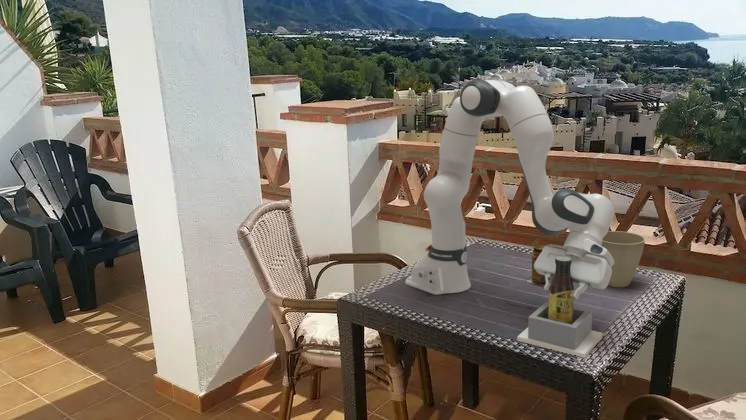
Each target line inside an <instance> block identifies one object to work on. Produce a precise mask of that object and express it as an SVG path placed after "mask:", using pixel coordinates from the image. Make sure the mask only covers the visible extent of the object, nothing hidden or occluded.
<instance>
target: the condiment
mask: <svg viewBox="0 0 746 420" xmlns="http://www.w3.org/2000/svg"><path fill="white" fill-rule="evenodd" d="M544 246H545V245H536V246H534V247H533V252H532V253H533V254H532V256H531V279H527V280H526V281H525V282H527V283H530V284H533V285H536V286H540V287H543V288H544V287H545V284H546V280H545V275H542V274H539V273H538V272H537V271H536V270H535V268H534V263H535V261H536V260H537V258H538V256H539V255H540V253H541V252H542V250H543V248H544ZM550 281H551V280H550Z"/></svg>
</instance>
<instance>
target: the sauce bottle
mask: <svg viewBox="0 0 746 420" xmlns="http://www.w3.org/2000/svg"><path fill="white" fill-rule="evenodd" d="M555 263H556V271H555V276H554V277H553V278H552V280H551V282H550V291H549V294H548V302H549V310H548V319H550V320H554V321H558V322H563V323H567V324H571V325H572V322H573V307H574V303H575V302H574V301H575V299H573V298H571V297H570V294H571V292H572V290H575V287H574V283H573V281H572V278H571V275H570V274H571V273H570V267H571V264H572V260H571V258H569V257H564V256H559V257H556V258H555Z"/></svg>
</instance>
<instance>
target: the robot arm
mask: <svg viewBox="0 0 746 420" xmlns="http://www.w3.org/2000/svg"><path fill="white" fill-rule="evenodd" d="M486 118H487V119H488V118H489V119H492V118H504V119H505V121H506V123H507V125H508V127H509V130H510V132H511V133H510V134H511V135H512V138H513V142H514V144H515V147H516V151H517V154H518V158H519V159H518V160H519V163H520V164H519V165H520V168H521V171H522V175H523V179H524V181H525V185H526V188H527V191H528V195H529V197H530V202H531V219H532V224H533V225H534V227H535V228H536V230H538V231H539V232H540V233H542V234H544V235H548V236H556V235H558V234H560V233H562V231H564V230H566V229H568V231H569V232H568V235H567V237H566V240H565V242H564V244H563V245H561V244H555V243H550V244H547V245H543V246H544V248H543V250H542V252H541V253H540V255H539V256H538V258H537V260H536V261H535V263H534V268H535V270H536V271H537V272H538V273H539V274H542V275H545V280H546V284H545V287H544V286H543V289H544V291H546V292H549V291H550V282H551V281H550V280H552V278H553V277H554V276H555V271H556V263H555V258H556V257H559V256H564V257H569V258H571V260H572V264H571V267H570V273H571V274H570V275H571V278H572V281H573V284H577V285H579V286H578V288H576V289H574V290H572V292H571V294H570V297H571V298H573V299H574V300H578V299H579V297H580V295H581V294H582V293H584V292H585V291H587V290H588V288H589V287H590V288H593V289H598V290H601V291H602V290H604V289H607V287H608V286H609V285H608V284H609V281H610V278H611V274H612V269H611V267H612V266H613V264H614V260H613V258H612V256H611V254H610V253H609V252H608V250H607V249H606V248H604V247H602V246H601V245H602V240H603V238H604V236H605V235H606V234H607V232H608V231H609V230H610V227H611V225H612V222H613V219H614V216H615V206H614V204H613V202H612V201H611V200H610V199H609V198H608V197H606V196H604V195H603V194H599V193H590V194H589V193H583V192H582V193H581V192H577V191H576V190H573V189H571V188H563V189H559V190H558V191H555V192H554V193H553V192H552V187H551V185H550V181H549V179H548V178H549V177H548V175H547V171H546V162H547V158H548V155H549V152H550V150H551V148H552V145H553V143H554V139H555V133H554V128H553V124H552V121H551V119H550V117H549V115H548V113H547V110H546V108H545V105H544V104H543V102H542V100H541V98H540V97H539V96H538V93H537V92H536V91H535V90H534V89H533V87H530V86H528V85H517V84H515V83H514V82H512V81H508V80H507V81H506V80H501V79H493V78H492V79H475V80H472V81H471V80H470V81H468V83H466V84H464V86H463V88H462V89H461V91H460V94H459V96H458V97H455V99H454V100H453V102H452V104H451V106H450V109H449V111H448V113H447V117H446V121H445V124H444V128H443V132H442V136H441V141H440V145H439V149H438V154H439V164H438V165H439V166H438V171H437V174H436V175H435V176H434V177H433V178H431V179H430V180H429V181H428V183H427V184H426V186H425V188H424V191H423V199H424V202H425V204H426V205H427V209H428V210H427V211H428V214H429V217H430V225H431V244H429V245H428V247H426V248H424V249H425V252H428V253H427V255H426V256H424V257H423V258H422V259H420V260H419V261H417V262H416V263H415V264H414V265H413V267H412V270H411V271H412V272H411V274H410V275H409V276H408V277H406V279H405V283H404V284H405V286H406V285H407V286H409V287H412V288H415V289H418V290H421V291H424V292H426V293H429V294H432V295H438V296H439V295H442V294H455V293H456V294H457V293H461V292H465V291H467V290H469V289H470V288H471V287H472V284H471V281H470V277H469V273H468V266H467V265H468V264H467V261H468V247H467V244H466V221H465V220H464V217H463V212H462V204H461V202H462V200H463V198H465V196H467V194H468V192H469V189H470V184H471V176H472V171H473V170H472V168H473V161H474V155H475V152H476V148H477V145H478V139H479V137H480V132H481V128H482V127H481V126H482V125H483V122H484V121H485V119H486Z"/></svg>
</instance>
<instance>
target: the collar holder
mask: <svg viewBox="0 0 746 420" xmlns="http://www.w3.org/2000/svg"><path fill="white" fill-rule="evenodd" d="M548 310H549V300H548V301H546V302H544V303H543V304H542V305H541V306H540V307H538V308H537V309H536V310H535V311H533V312H532V314H530V315H529V316H528V322H527V323H528V326H527V327H526V328H525V329H524V330H523V331H522V332H521V333H520V334H518V335H517V339H516V341H518V342H521V343H525V344H529V345H532V346H536V347H540V348H544V349H548V350H551V349H552V351H555V352H558V351H559V352H560V353H562V352H563V353H562V354H566V353H567V354H566V355H570V354H571V355H570V356H574V355H576V356H575V357H577V356H580V357H579V358H581V357H582V359H586V357H587V356H588V355H589V354H590V353H591V351H592V350H593V349H594V348H595V347H596V345H597V344H598V343H599V342H600V341H601V339H603V336H604V335H603V332H600V331H597V330H592V323H593V310H590V309H585V308H579V307H576V306H573V322H572V325H571V324H567V323H563V322H558V321H554V320H550V319H548Z"/></svg>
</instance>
